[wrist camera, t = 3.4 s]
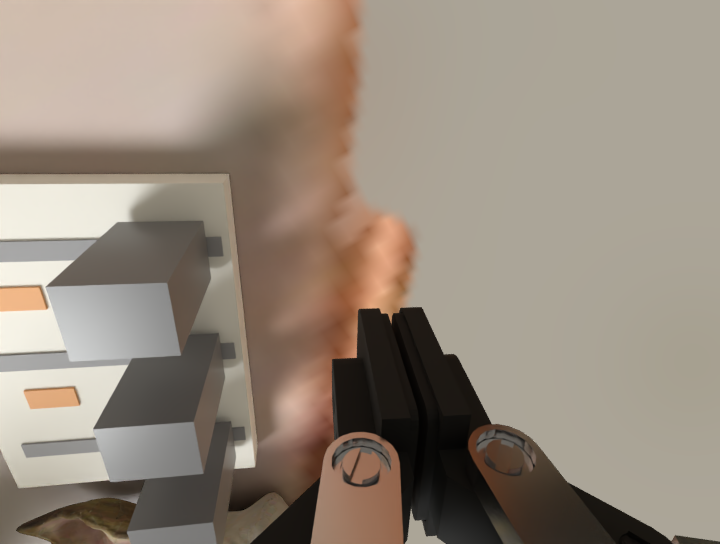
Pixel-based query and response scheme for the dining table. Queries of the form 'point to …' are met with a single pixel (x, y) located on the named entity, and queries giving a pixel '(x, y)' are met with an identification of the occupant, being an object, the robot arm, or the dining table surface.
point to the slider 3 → (188, 500)
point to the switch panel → (41, 332)
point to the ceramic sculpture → (112, 518)
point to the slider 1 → (133, 291)
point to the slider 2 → (163, 413)
